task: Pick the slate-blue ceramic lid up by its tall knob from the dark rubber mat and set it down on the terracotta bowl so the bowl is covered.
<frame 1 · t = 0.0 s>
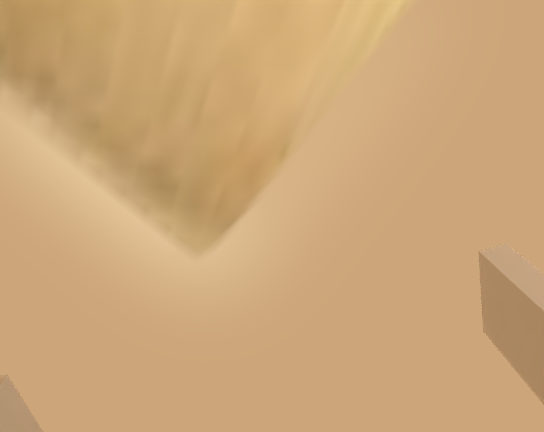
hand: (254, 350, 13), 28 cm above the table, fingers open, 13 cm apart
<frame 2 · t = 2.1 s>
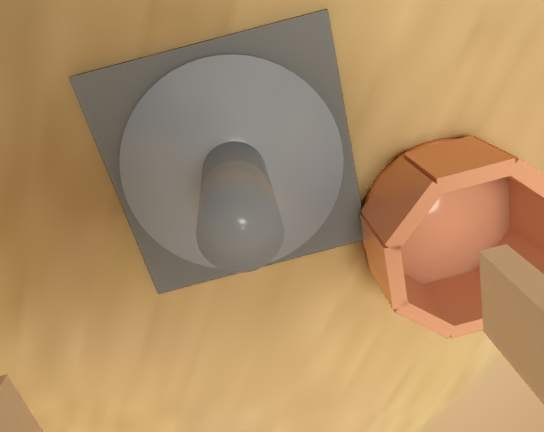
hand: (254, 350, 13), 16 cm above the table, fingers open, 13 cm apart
mat: (233, 164, 28), on the table
lid: (233, 167, 27), resting on mat
bowl: (438, 216, 31), on the table
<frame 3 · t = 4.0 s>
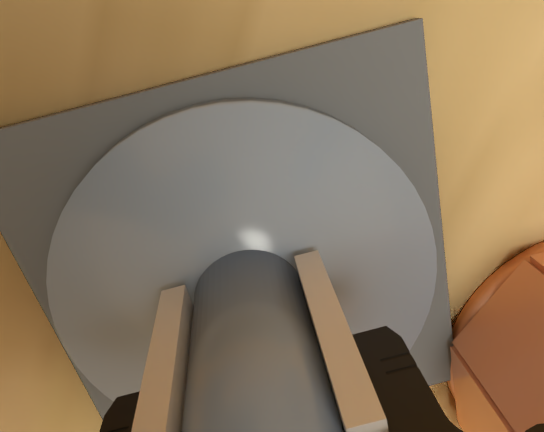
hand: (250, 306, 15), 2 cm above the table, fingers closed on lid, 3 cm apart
mat: (247, 273, 17), on the table
lid: (248, 282, 16), point 1 cm above the table, touching gripper
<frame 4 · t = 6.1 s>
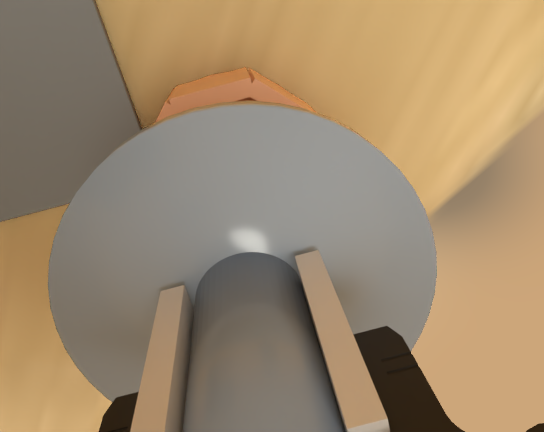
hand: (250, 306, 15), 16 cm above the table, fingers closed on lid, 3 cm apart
mat: (1, 97, 27), on the table
lid: (248, 284, 16), point 15 cm above the table, touching gripper
bowl: (235, 157, 30), on the table
when the fingers open (8 cm above the table, at t = 8.1 s): lid drops 1 cm, resting on bowl.
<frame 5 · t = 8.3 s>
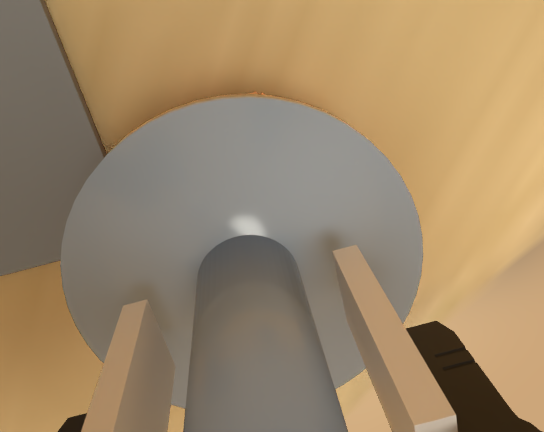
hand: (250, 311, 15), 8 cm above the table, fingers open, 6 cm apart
lid: (247, 266, 17), point 5 cm above the table, touching bowl
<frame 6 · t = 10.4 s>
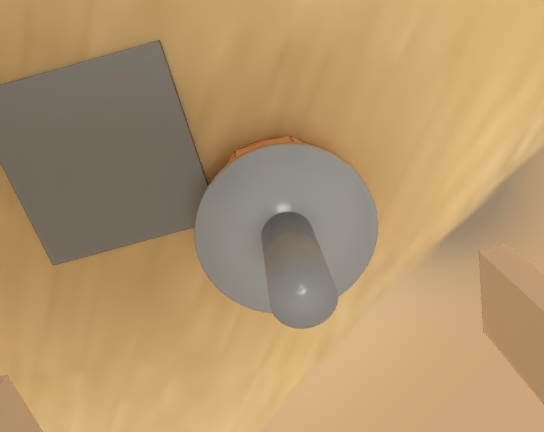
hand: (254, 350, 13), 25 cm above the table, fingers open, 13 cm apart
mat: (103, 160, 35), on the table
lid: (285, 230, 33), point 5 cm above the table, touching bowl
bowl: (278, 201, 38), on the table
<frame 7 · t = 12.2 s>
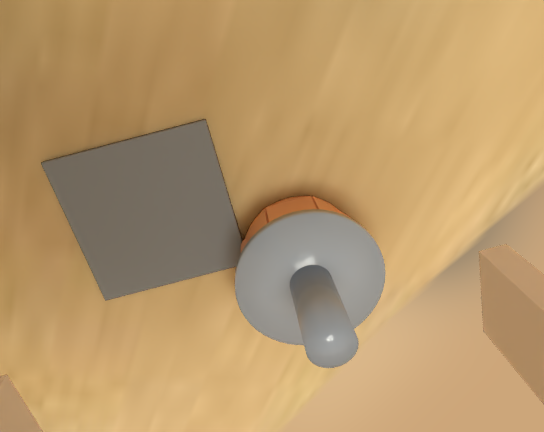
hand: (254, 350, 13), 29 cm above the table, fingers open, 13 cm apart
mat: (152, 214, 42), on the table
lid: (309, 277, 39), point 5 cm above the table, touching bowl
bowl: (298, 247, 44), on the table
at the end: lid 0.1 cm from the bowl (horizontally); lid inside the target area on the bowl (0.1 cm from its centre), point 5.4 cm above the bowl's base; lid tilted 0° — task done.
